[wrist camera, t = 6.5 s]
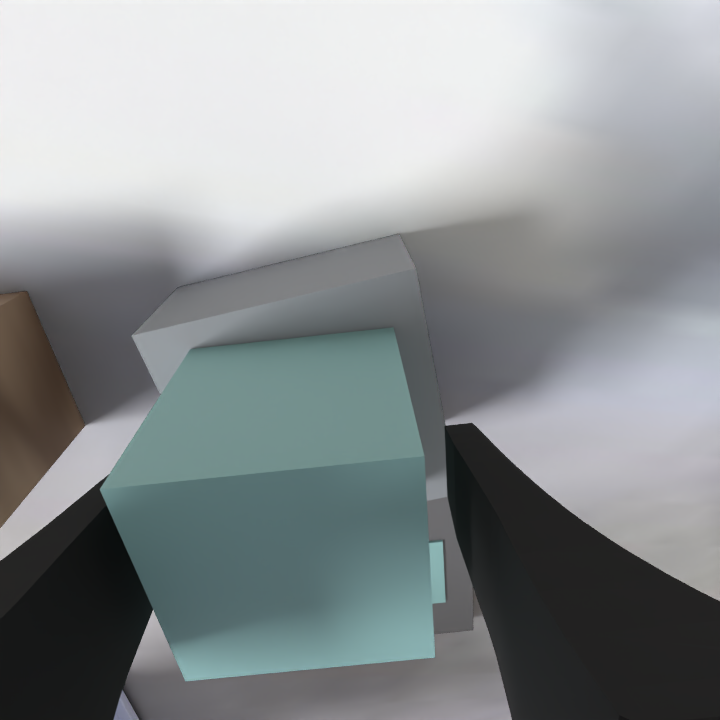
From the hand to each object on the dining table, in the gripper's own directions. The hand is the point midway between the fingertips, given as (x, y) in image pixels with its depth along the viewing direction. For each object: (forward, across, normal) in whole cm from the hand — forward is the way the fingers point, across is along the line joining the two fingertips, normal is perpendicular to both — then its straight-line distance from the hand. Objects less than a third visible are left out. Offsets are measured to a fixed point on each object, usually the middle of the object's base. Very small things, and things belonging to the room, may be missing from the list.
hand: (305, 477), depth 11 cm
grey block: (+6, 0, 0) cm, 6 cm away
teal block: (+2, 0, 0) cm, 2 cm away
